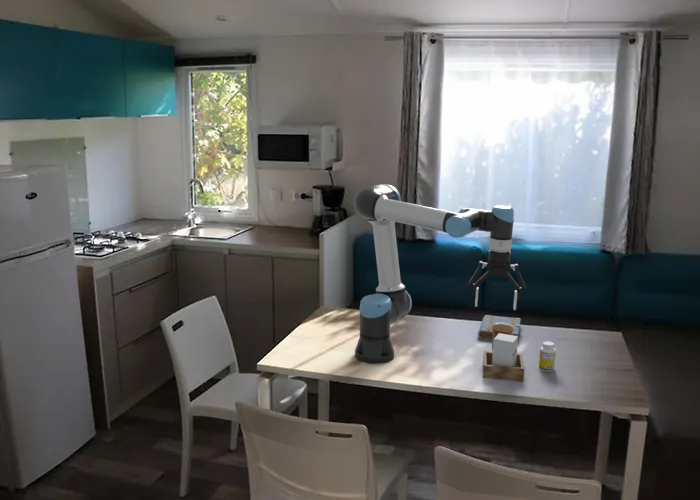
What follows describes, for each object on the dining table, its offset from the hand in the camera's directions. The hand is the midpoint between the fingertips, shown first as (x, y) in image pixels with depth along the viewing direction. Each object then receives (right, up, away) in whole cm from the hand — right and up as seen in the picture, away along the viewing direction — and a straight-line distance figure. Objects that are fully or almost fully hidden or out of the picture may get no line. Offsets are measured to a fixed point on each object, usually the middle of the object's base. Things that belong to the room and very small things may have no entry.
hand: (495, 307), depth 239 cm
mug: (+7, -20, +20) cm, 29 cm away
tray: (+3, -24, +2) cm, 24 cm away
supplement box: (+3, -23, +2) cm, 24 cm away
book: (+11, -15, +43) cm, 47 cm away
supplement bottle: (+20, -24, +5) cm, 31 cm away
